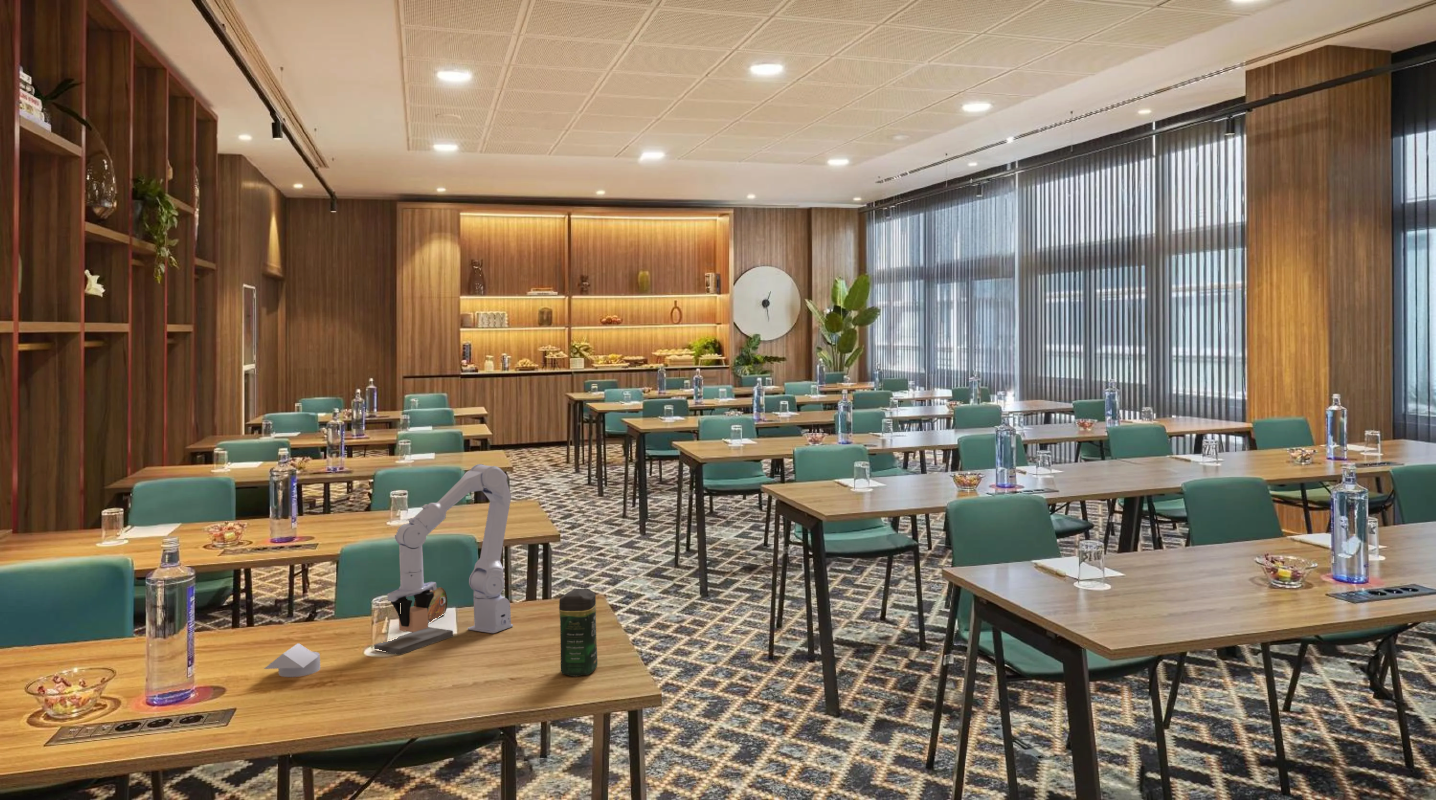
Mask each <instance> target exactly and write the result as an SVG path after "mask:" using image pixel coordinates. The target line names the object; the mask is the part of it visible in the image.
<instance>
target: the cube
mask: <svg viewBox="0 0 1436 800" xmlns="http://www.w3.org/2000/svg"><path fill="white" fill-rule="evenodd" d="M398 627H399V628H398V629H399V630H398V631H402V632H408V633H411V632H416V631H419V630H422V629H425V628H428V627H429V624H428V611H427V608H421V607H414V605H413V606H411V607H410V622H409V626H408V627H405V626H401V622H400V619H399V618H398Z"/></svg>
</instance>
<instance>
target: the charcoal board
mask: <svg viewBox="0 0 1436 800" xmlns="http://www.w3.org/2000/svg"><path fill="white" fill-rule="evenodd" d="M397 637H398V638H397V639H394V640H392V641H388V642H384V641H382V642H383V643H381V642H378V643H375V644H374V645H373V649H379V650H382V651H386V652H388V653H387V654H393V655H398V656H401V655H404V654H406V653H409V652H411V651H412V652H413V651H415V650H417V649H420V648H421V649H422V648H424V647H426V646H430V645H432V644H434V643H438V642H441V641H444V640H446V639H450V638H452V637H454V630H453V629H452V630H450V629H443V628H438V627H431V626H428V628H425V629H422V630H419V631H416V632H408V633H406V634H402V635H399V636H397ZM386 652H385V653H386Z"/></svg>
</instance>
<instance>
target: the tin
mask: <svg viewBox="0 0 1436 800" xmlns="http://www.w3.org/2000/svg"><path fill="white" fill-rule="evenodd" d="M430 592H433V593H434V597H433V599H432V600H431V603H430V605H429V608H428V623H429V622H431V621H432V620H433V619H435V618H438V617H439V616H441V615H442V614H444V613H445V614H446V611H447V609H448V596H447V595H448V594H447V593H446V589H445V588H443V587H442V586H441V587H440V586H439V587H436V590H430ZM413 606H414V607H416V602H415V601H414V603H413ZM445 614H444V615H445Z"/></svg>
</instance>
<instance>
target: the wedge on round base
mask: <svg viewBox="0 0 1436 800" xmlns="http://www.w3.org/2000/svg"><path fill="white" fill-rule="evenodd" d="M320 655H321V654H320V652H318V651H312V650H310V649H308V648H307V647H305V646H303V645H302V644H300V643H296V644H295V645H292V647H291V648H289V649H288V650H286V651H285V652H282V654H281V655H279V656H278V657H277V658H275V659H274V660H273V661H272V662H270V663H269V664H268V665H267V666H265V667H263V670H264V669H265V670H270V669H271V670H272V669H273V670H274V669H278V676H280V677H284V678H296V677H297V678H298V677H304V676H308V675H313V674H315V673H317V672H319V671H320V670H321V656H320Z"/></svg>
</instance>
